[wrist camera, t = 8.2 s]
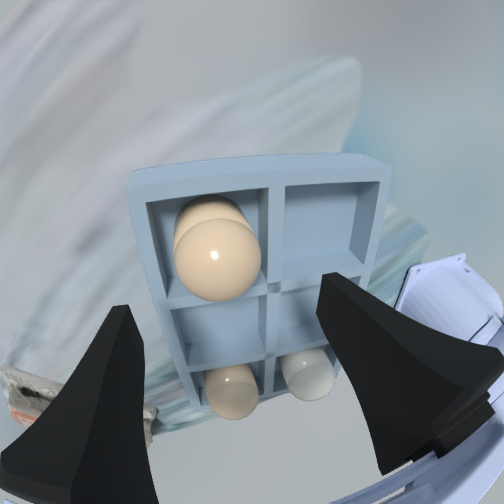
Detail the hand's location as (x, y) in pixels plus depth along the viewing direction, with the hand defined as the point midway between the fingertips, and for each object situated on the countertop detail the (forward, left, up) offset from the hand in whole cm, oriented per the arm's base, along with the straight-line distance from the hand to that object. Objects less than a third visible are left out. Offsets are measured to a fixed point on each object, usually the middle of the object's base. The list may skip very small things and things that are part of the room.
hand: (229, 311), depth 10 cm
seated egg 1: (0, +13, -7) cm, 14 cm away
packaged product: (+18, +20, -8) cm, 28 cm away
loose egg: (0, 0, -7) cm, 6 cm away
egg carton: (-3, +6, -8) cm, 10 cm away
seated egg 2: (-6, +13, -7) cm, 16 cm away
